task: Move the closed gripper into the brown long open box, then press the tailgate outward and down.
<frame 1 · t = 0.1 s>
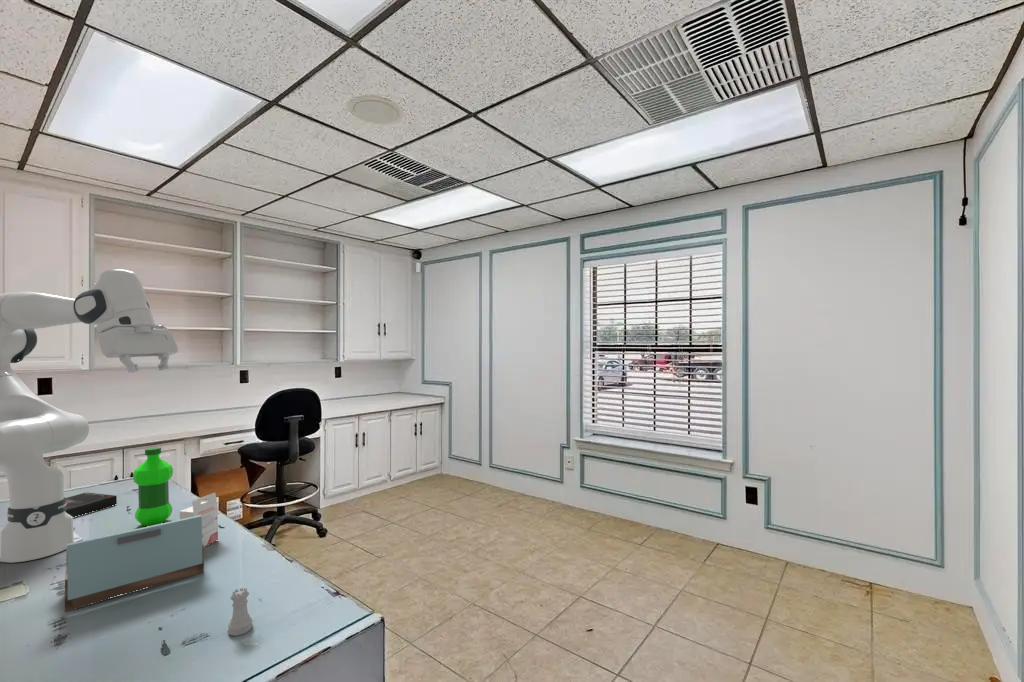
hand: (149, 370, 131), 52 cm above the table, tool tilted 20°, fingers open, 8 cm apart
rook chess piece: (240, 631, 96), on the table
portable cd player: (74, 513, 170), on the table
tailgate: (139, 554, 112), point 9 cm above the table, hinge at 0.0°
plastic bottle: (154, 524, 156), on the table
brown long open box: (137, 581, 117), on the table
ink cartridge box: (199, 546, 138), on the table
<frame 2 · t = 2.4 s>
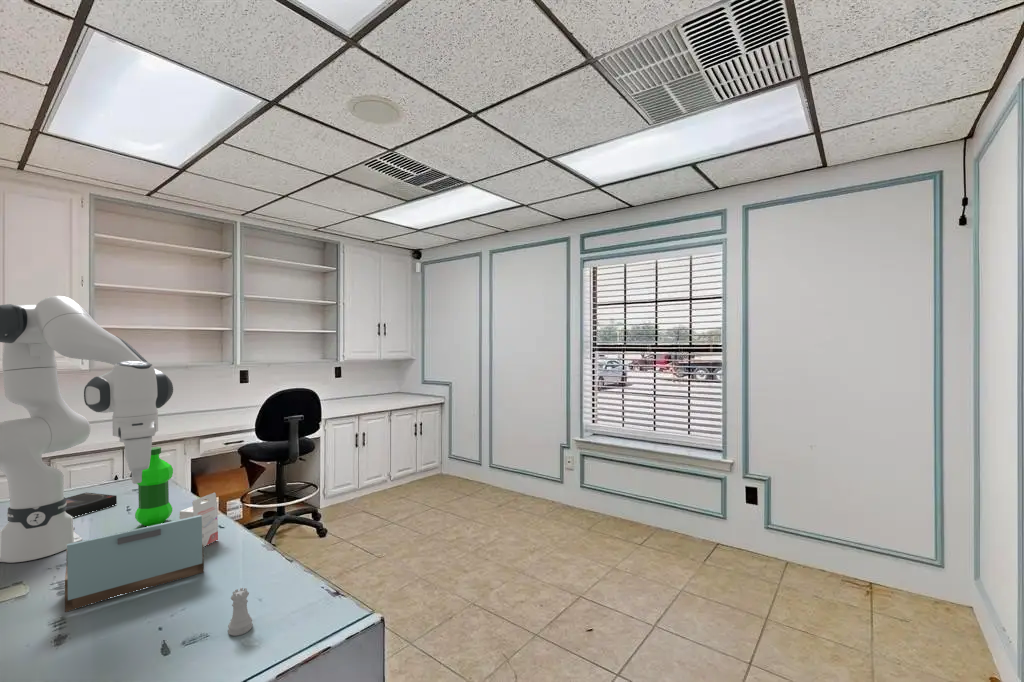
hand: (136, 482, 117), 25 cm above the table, tool pointing down, fingers closed
nothing on the table moved.
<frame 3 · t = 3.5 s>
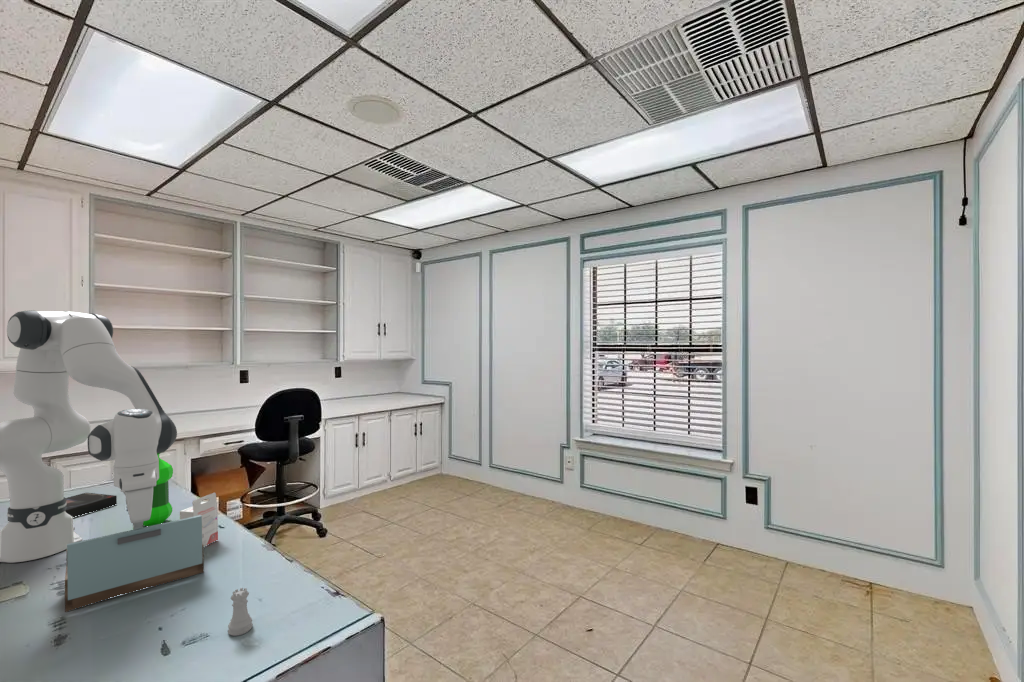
hand: (138, 530, 117), 13 cm above the table, tool pointing down, fingers closed
nothing on the table moved.
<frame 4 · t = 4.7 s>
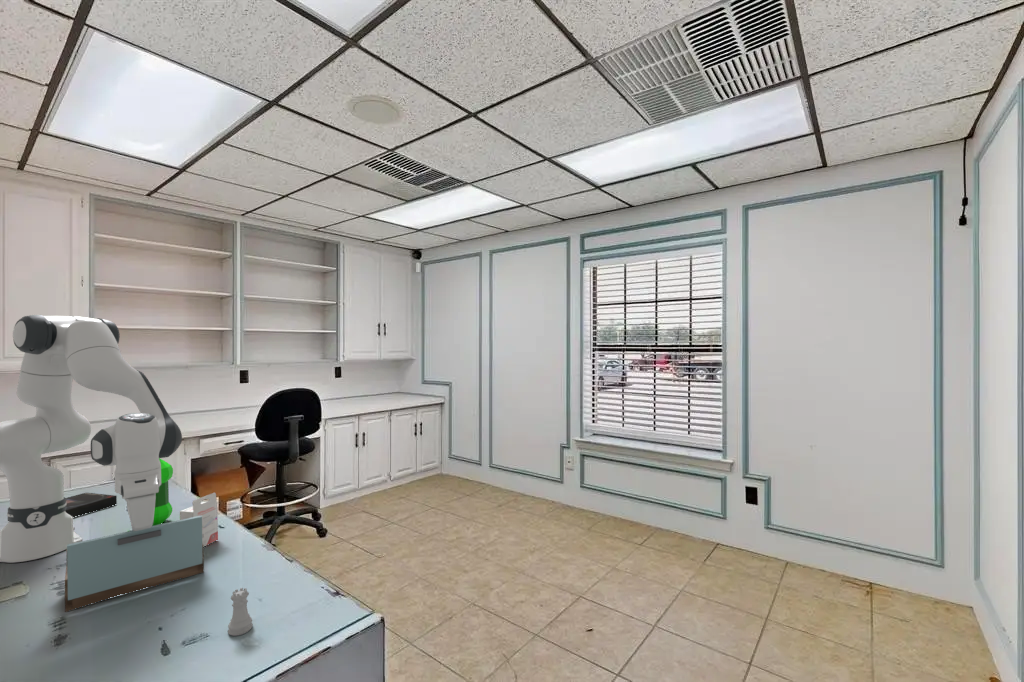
hand: (139, 538, 114), 12 cm above the table, tool pointing down, fingers closed
tailgate: (139, 555, 112), point 9 cm above the table, hinge at 2.1°, touching gripper
everything else where it was.
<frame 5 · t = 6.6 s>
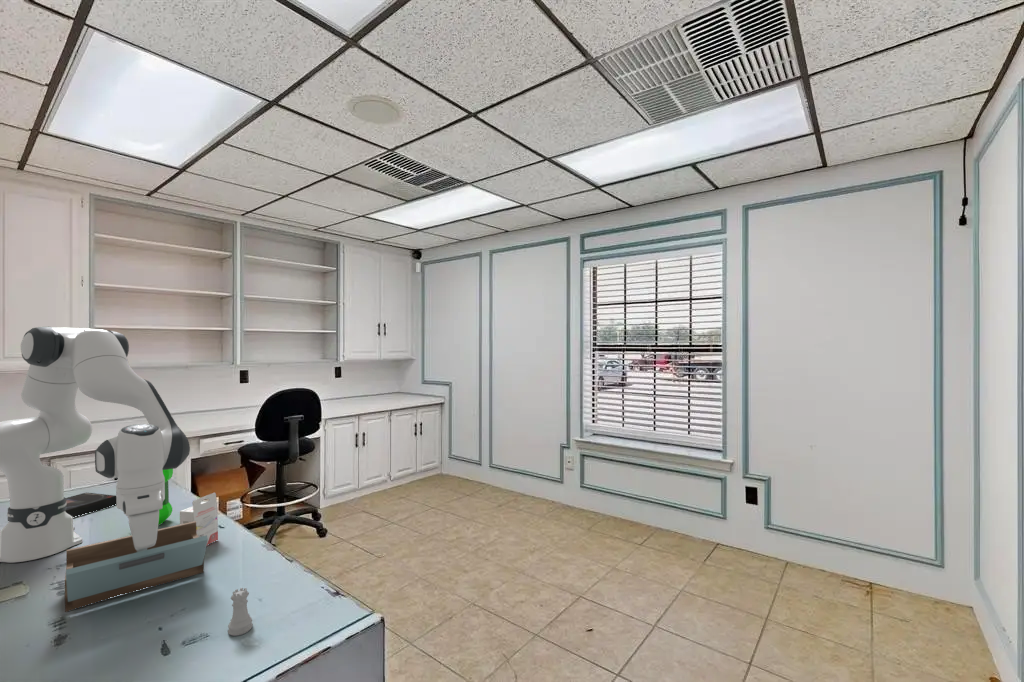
hand: (141, 555, 109), 10 cm above the table, tool pointing down, fingers closed
tailgate: (141, 568, 109), point 7 cm above the table, hinge at 43.0°, touching gripper
everything else where it was.
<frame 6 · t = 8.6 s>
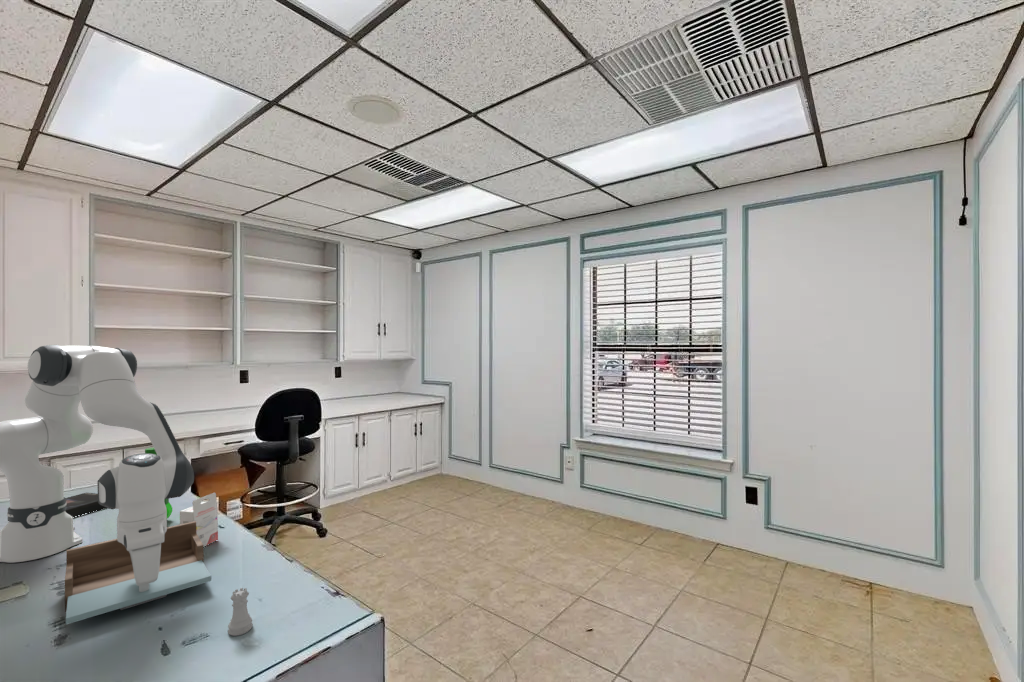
hand: (143, 589, 106), 4 cm above the table, tool pointing down, fingers closed, pressing on tailgate
tailgate: (142, 590, 108), point 3 cm above the table, hinge at 89.0°, touching gripper
everything else where it was.
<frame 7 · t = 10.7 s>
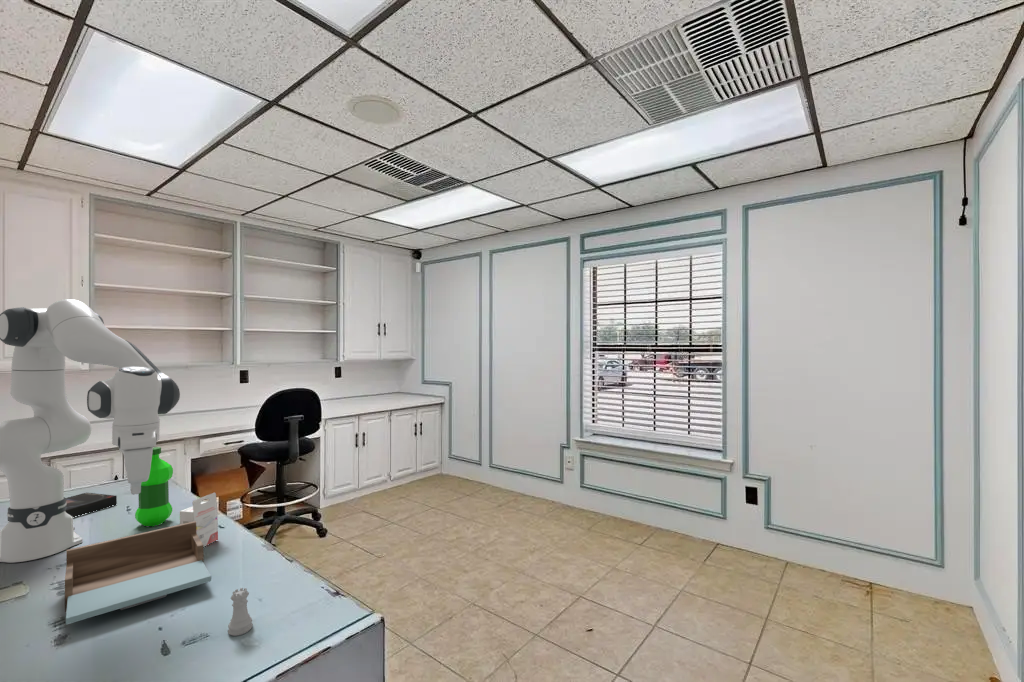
hand: (135, 492, 113), 24 cm above the table, tool pointing down, fingers closed
tailgate: (142, 590, 108), point 3 cm above the table, hinge at 89.1°
everything else where it was.
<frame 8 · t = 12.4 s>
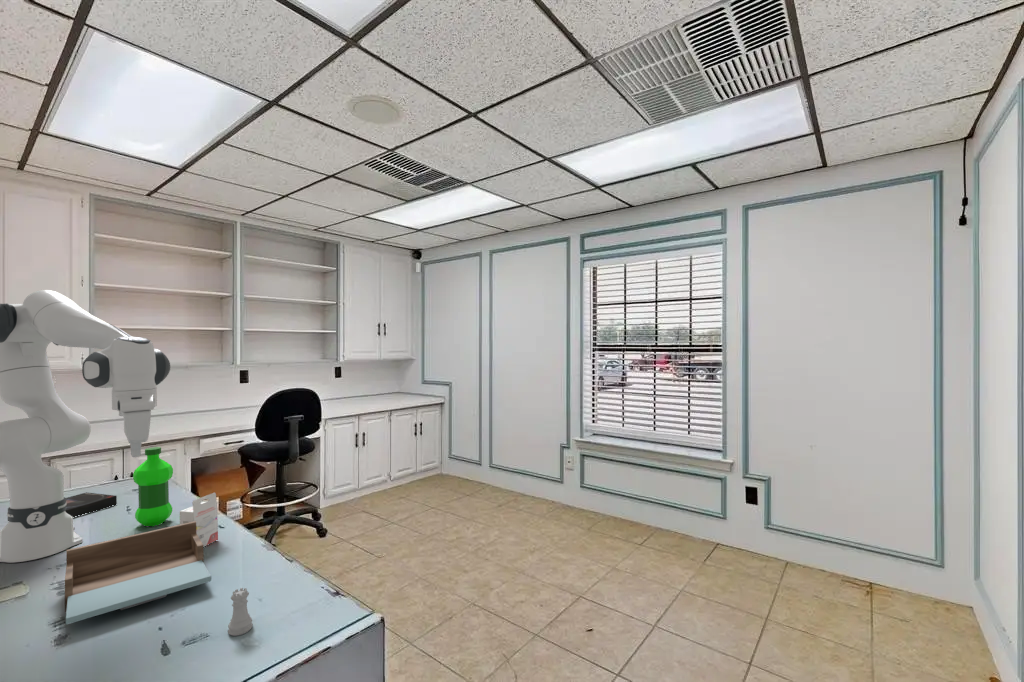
hand: (135, 456, 118), 31 cm above the table, tool pointing down, fingers closed
nothing on the table moved.
at the end: tailgate at +89° (first picture: +0°); ink cartridge box moved 0.2 cm from its start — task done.
